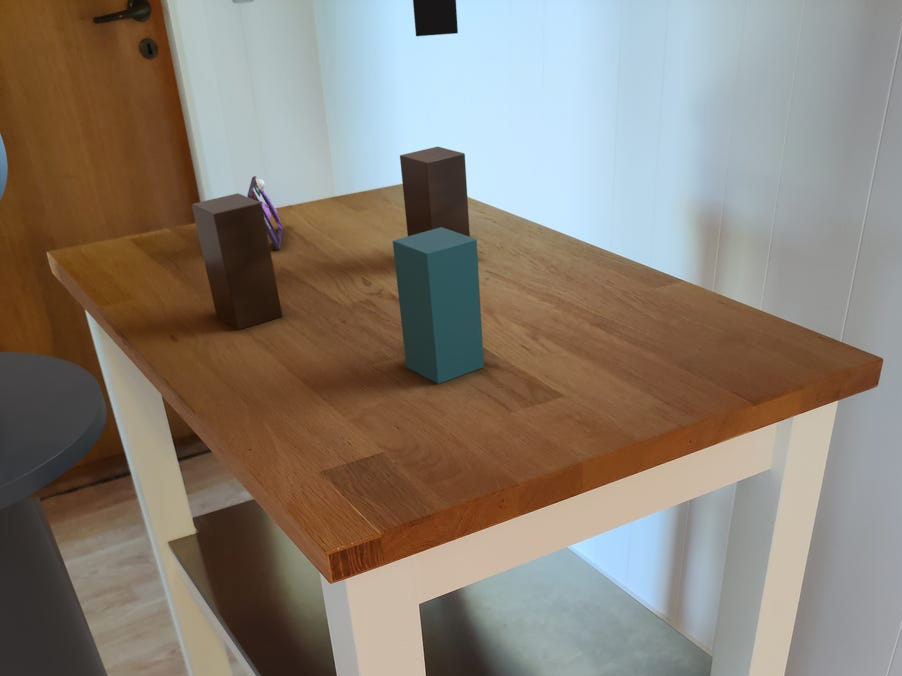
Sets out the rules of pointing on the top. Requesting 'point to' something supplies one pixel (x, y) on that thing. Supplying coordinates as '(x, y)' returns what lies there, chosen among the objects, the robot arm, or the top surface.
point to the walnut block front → (238, 260)
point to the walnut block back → (435, 190)
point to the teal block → (439, 303)
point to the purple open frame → (266, 211)
